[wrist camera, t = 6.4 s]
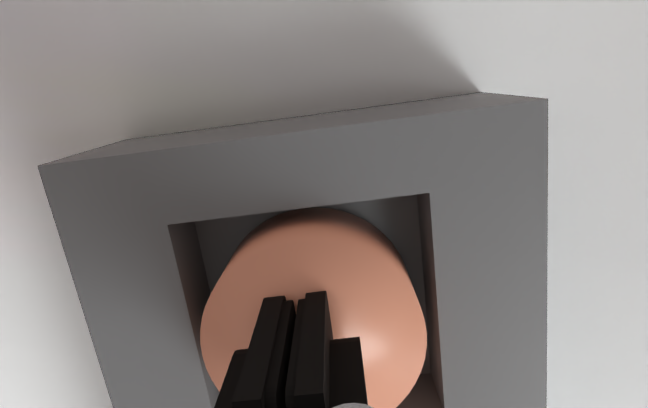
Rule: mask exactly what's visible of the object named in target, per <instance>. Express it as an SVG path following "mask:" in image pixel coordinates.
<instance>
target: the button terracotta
mask: <svg viewBox="0 0 648 408" xmlns="http://www.w3.org/2000/svg"><path fill="white" fill-rule="evenodd" d="M319 291H326V292H327V298H328V305H329V312H330V319H331V326H332V333H333V339H341V338H351V337H360V343H361V351H362V359H363V367H364V375H365V383H366V391H367V400H368V405H369V406H371V407H374V408H396V407H397V406H398V405H399V404H400V403H401V402H402V401H403V400H404V399H405V398H406V396H407V395H408V394H409V393H410V391H411V390H412V388H413V386H414V385H415V383H416V381H417V379H418V377H419V375H420V373H421V370H422V367H423V364H424V360H425V355H426V348H427V331H426V325H425V319H424V316H423V313H422V310H421V306H420V304H419V301H418V299H417V296H416V293H415V291H414V288H413V285H412V283H411V280H410V278H409V275H408V272H407V270H406V267H405V264H404V262H403V260H402V258H401V256H400V254H399V252H398V251H397V249H396V248H395V246H394V245H393V244H392V242H391V241H390V240H389V239H388V238H387V237H386V236H385V235H384V234H383V233H382V232H381V231H380V230H378V229H377V228H376V227H375V226H373V225H372V224H370V223H369V222H367V221H366V220H364V219H362V218H359V217H357V216H355V215H353V214H350V213H347V212H344V211H340V210H335V209H330V208H318V207H314V208H301V209H296V210H291V211H288V212H285V213H281V214H279V215H276V216H274V217H272V218H270V219H268V220H266V221H265V222H263V223H262V224H260V225H259V226H257V227H256V228H255V229H254V230H252V231H251V232H250V233H249V234H248V235H247V236H246V237H245V238H244V240H243V241H242V242H241V243H240V244H239V246H238V247H237V249H236V251H235V252H234V254H233V255H232V257H231V259H230V261H229V263H228V264H227V266H226V268H225V270H224V271H223V273H222V275H221V277H220V278H219V280H218V282H217V284H216V285H215V287H214V289H213V291H212V292H211V294H210V297H209V299H208V301H207V303H206V305H205V309H204V312H203V316H202V320H201V328H200V345H201V351H202V357H203V360H204V363H205V366H206V369H207V371H208V373H209V375H210V378H211V380H212V381H213V383H214V384H215V386H216V388H217V389H218V391H219V392H220V390H221V387H222V384H223V381H224V378H225V375H226V373H227V370H228V367H229V364H230V361H231V358H232V356H233V353H234V351H235V350H239V349H248V347H249V344H250V341H251V338H252V334H253V331H254V328H255V324H256V321H257V318H258V315H259V311H260V308H261V305H262V301H263V299H264V298H266V297H275V296H284V295H285V297H286V301H287V300H293V302H294V306H295V312H297V305H298V299H305V295H306V293H310V292H319Z"/></svg>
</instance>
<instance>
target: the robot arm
mask: <svg viewBox="0 0 648 408" xmlns="http://www.w3.org/2000/svg"><path fill="white" fill-rule="evenodd" d="M214 408H374V407H371V406H369V405H368V400H367V391H366V383H365V375H364V367H363V359H362V351H361V343H360V337H351V338H341V339H333V333H332V326H331V319H330V312H329V305H328V298H327V292H326V291H319V292H310V293H306V295H305V299H298V305H297V312H295V306H294V302H293V300H287V301H286V297H285V295H284V296H275V297H266V298H264V299H263V301H262V305H261V308H260V311H259V315H258V318H257V321H256V324H255V328H254V331H253V334H252V338H251V341H250V344H249V347H248V349H239V350H235V351H234V353H233V356H232V358H231V361H230V364H229V367H228V370H227V373H226V375H225V378H224V381H223V384H222V387H221V390H220V392H219V395H218V398H217V401H216V404H215V407H214Z"/></svg>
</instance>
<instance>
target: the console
mask: <svg viewBox="0 0 648 408" xmlns="http://www.w3.org/2000/svg"><path fill="white" fill-rule="evenodd" d="M38 169H39V172H40V175H41V179H42V182H43V185H44V188H45V191H46V195H47V198H48V201H49V204H50V207H51V210H52V214H53V217H54V220H55V223H56V226H57V230H58V233H59V236H60V239H61V242H62V246H63V249H64V252H65V255H66V258H67V261H68V265H69V268H70V271H71V274H72V277H73V281H74V284H75V287H76V290H77V293H78V296H79V300H80V303H81V306H82V309H83V312H84V316H85V319H86V322H87V325H88V328H89V332H90V335H91V338H92V341H93V344H94V347H95V351H96V354H97V357H98V360H99V363H100V367H101V370H102V373H103V376H104V379H105V383H106V386H107V389H108V392H109V395H110V398H111V402H112V405H113V408H214V407H215V404H216V401H217V398H218V395H219V391H218V389H217V388H216V386H215V384H214V383H213V381H212V380H211V378H210V375H209V373H208V371H207V369H206V366H205V363H204V360H203V357H202V351H201V345H200V328H201V320H202V316H203V312H204V309H205V305H206V303H207V301H208V299H209V297H210V294H211V292H212V291H213V289H214V287H215V285H216V284H217V282H218V280H219V278H220V277H221V275H222V273H223V271H224V270H225V268H226V266H227V264H228V263H229V261H230V259H231V257H232V255H233V254H234V252H235V251H236V249H237V247H238V246H239V244H240V243H241V242H242V241H243V240H244V238H245V237H246V236H247V235H248V234H249V233H250V232H251V231H252V230H254V229H255V228H256V227H257V226H259V225H260V224H262V223H263V222H265V221H266V220H268V219H270V218H272V217H274V216H276V215H279V214H281V213H285V212H288V211H291V210H296V209H301V208H314V207H318V208H330V209H335V210H340V211H344V212H347V213H350V214H353V215H355V216H357V217H359V218H362V219H364V220H366V221H367V222H369V223H370V224H372V225H373V226H375V227H376V228H377V229H378V230H380V231H381V232H382V233H383V234H384V235H385V236H386V237H387V238H388V239H389V240H390V241H391V242H392V244H393V245H394V246H395V248H396V249H397V251H398V252H399V254H400V256H401V258H402V260H403V262H404V264H405V267H406V270H407V272H408V275H409V278H410V280H411V283H412V285H413V288H414V291H415V293H416V296H417V299H418V301H419V304H420V306H421V310H422V313H423V316H424V319H425V325H426V331H427V348H426V355H425V360H424V364H423V367H422V370H421V373H420V375H419V377H418V379H417V381H416V383H415V385H414V386H413V388H412V390H411V391H410V393H409V394H408V395H407V396H406V398H405V399H404V400H403V401H402V402H401V403H400V404H399V405H398V406H397V407H396V408H546V382H547V197H548V99H545V98H535V97H524V96H514V95H504V94H493V93H483V92H481V93H473V94H466V95H458V96H451V97H443V98H436V99H428V100H421V101H413V102H406V103H398V104H391V105H383V106H376V107H368V108H361V109H353V110H346V111H338V112H331V113H323V114H316V115H308V116H301V117H293V118H286V119H278V120H271V121H263V122H256V123H248V124H241V125H233V126H226V127H219V128H211V129H204V130H196V131H189V132H181V133H174V134H166V135H159V136H151V137H144V138H136V139H129V140H123V141H120V142H117V143H113V144H110V145H106V146H103V147H100V148H96V149H93V150H90V151H86V152H83V153H79V154H76V155H73V156H69V157H66V158H63V159H59V160H56V161H53V162H49V163H46V164H42V165H39V166H38Z"/></svg>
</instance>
